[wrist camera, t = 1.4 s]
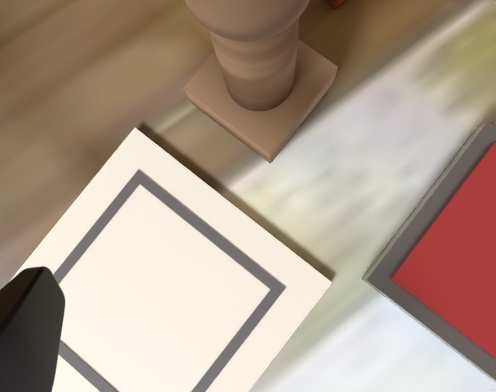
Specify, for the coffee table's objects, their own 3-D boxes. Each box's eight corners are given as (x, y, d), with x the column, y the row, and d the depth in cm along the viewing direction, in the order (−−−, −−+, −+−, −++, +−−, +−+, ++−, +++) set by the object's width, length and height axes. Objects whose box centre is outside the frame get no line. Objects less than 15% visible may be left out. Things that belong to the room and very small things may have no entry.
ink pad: (489, 378, 21) (508, 389, 19) (361, 278, 21) (368, 280, 20) (607, 218, 21) (635, 216, 19) (476, 128, 22) (492, 117, 20)
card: (169, 492, 21) (166, 498, 20) (-19, 321, 22) (-26, 322, 22) (331, 281, 22) (332, 282, 21) (137, 129, 23) (134, 127, 23)
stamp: (270, 166, 22) (258, 57, 10) (194, 108, 23) (94, -63, 11) (331, 89, 23) (393, -110, 10) (254, 34, 23) (224, -218, 11)
